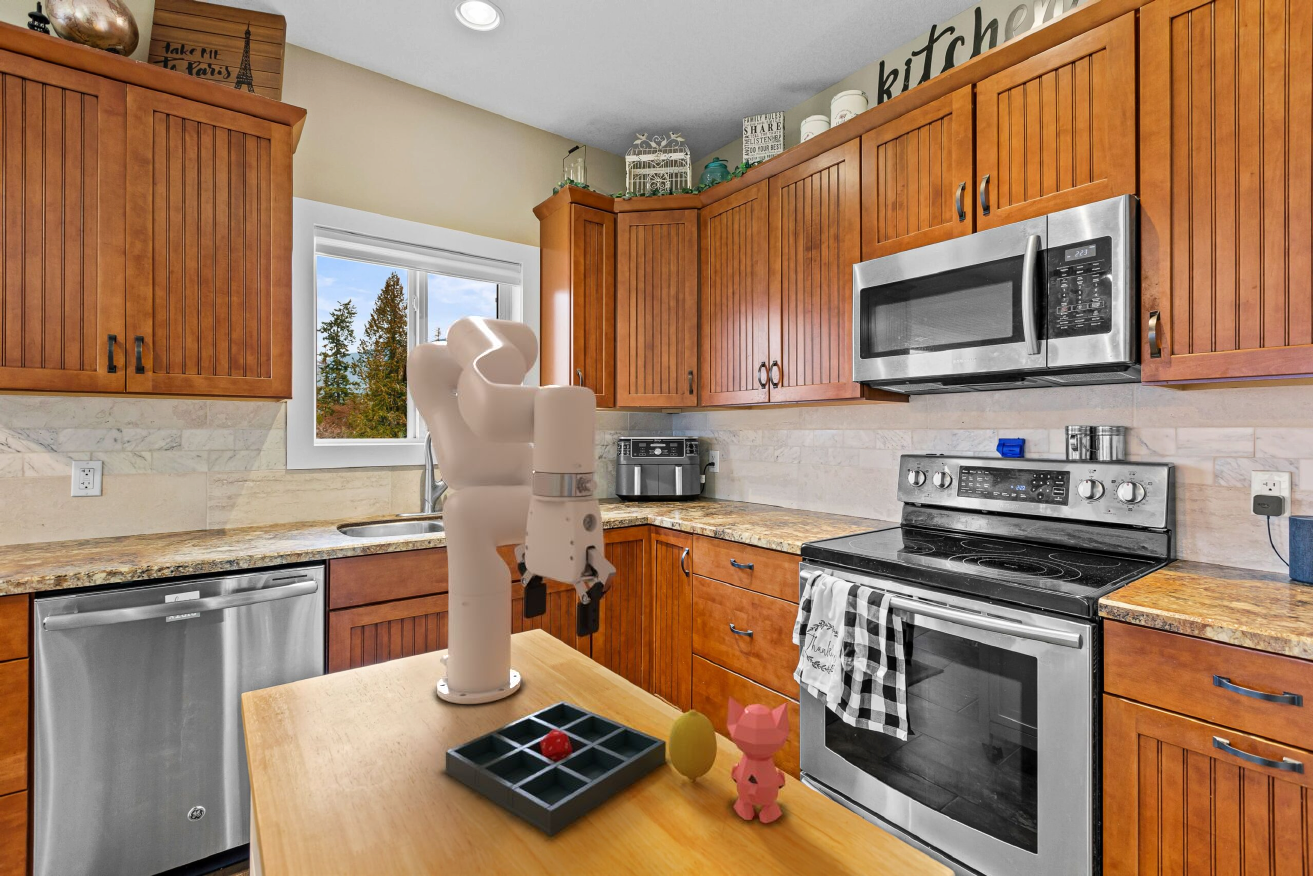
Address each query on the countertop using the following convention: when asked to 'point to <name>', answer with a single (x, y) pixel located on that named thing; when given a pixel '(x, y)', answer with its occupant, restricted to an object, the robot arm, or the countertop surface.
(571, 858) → the countertop surface
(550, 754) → the die
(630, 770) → the grid
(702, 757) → the lemon
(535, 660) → the countertop surface
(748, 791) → the cat figurine
